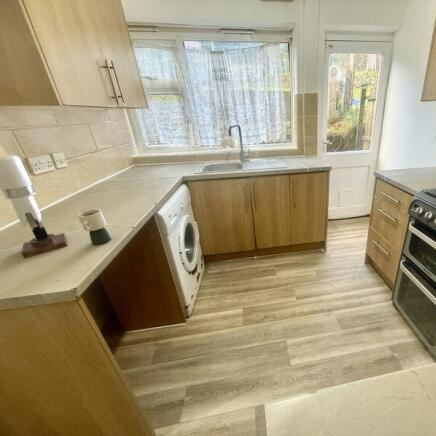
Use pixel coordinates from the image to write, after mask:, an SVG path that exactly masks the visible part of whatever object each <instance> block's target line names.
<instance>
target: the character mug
mask: <svg viewBox="0 0 436 436" xmlns="http://www.w3.org/2000/svg"><path fill="white" fill-rule="evenodd" d="M77 217H78V219H79V222H80V223H81V225H82V229H83V230H84V231H86V232H89V238H90V241H91V242H90V243H91V244H92V245H93V246H97V245H101V244H105V243H108V242H110V241H111V240H112V236H111V235H110V233H109V232H108V229H106V228H105V227H106V226H107V222H106V220H105V217H104V214H103V212H102V210H101V209H98V208H96V209H95V208H94V209H88V210H85V211H83V212H80V213H79V214H78V215H77Z"/></svg>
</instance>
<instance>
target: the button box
mask: <svg viewBox="0 0 436 436" xmlns="http://www.w3.org/2000/svg"><path fill="white" fill-rule="evenodd" d="M47 234H48V236H49V238H48V239H45V240H42V241H35V239H36V237H34V238H32V239H30V240H29V241H26V242H23V244H22V249H21V255H22V257H23V259H27V258H29V257H33V256H38V255H41V254H45V253H49V252H51V251H52V252H53V251H56V250H58V249H62V248H65V247H68V240H67V236H66V234H65V233H64V232H63V233H60V234H59V233H58V234H54V233H47Z"/></svg>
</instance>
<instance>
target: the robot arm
mask: <svg viewBox="0 0 436 436" xmlns="http://www.w3.org/2000/svg"><path fill="white" fill-rule="evenodd" d="M0 189H1V192H2V193H3V195H4V197H5V199H6V200H10V202H11V203H12V208H13V209H14V211H15V213H16V215H17V217H18V220H19V222H20V224H21V226H26V225H27V223H28V225H29V227H30V229H31V232H32V233H33V236H34V238H36V239H42V238H46V237H48V234H49V233H48V232H47V230H46V228H45V226H44V225H43V222H42V213H41V211H40V208H39V205H38V204H37V201H36V199H35V198H34V195H36V194H37V192H36V190H35V187H34V185H33V184H32V181H31V179H30V177H29V174H28V172H27V170H26V169H25V166H24V164H23V162H22V160H21V158H20V157H19V156H17V155H14V154H6V155H5V154H4V155H0Z"/></svg>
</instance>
